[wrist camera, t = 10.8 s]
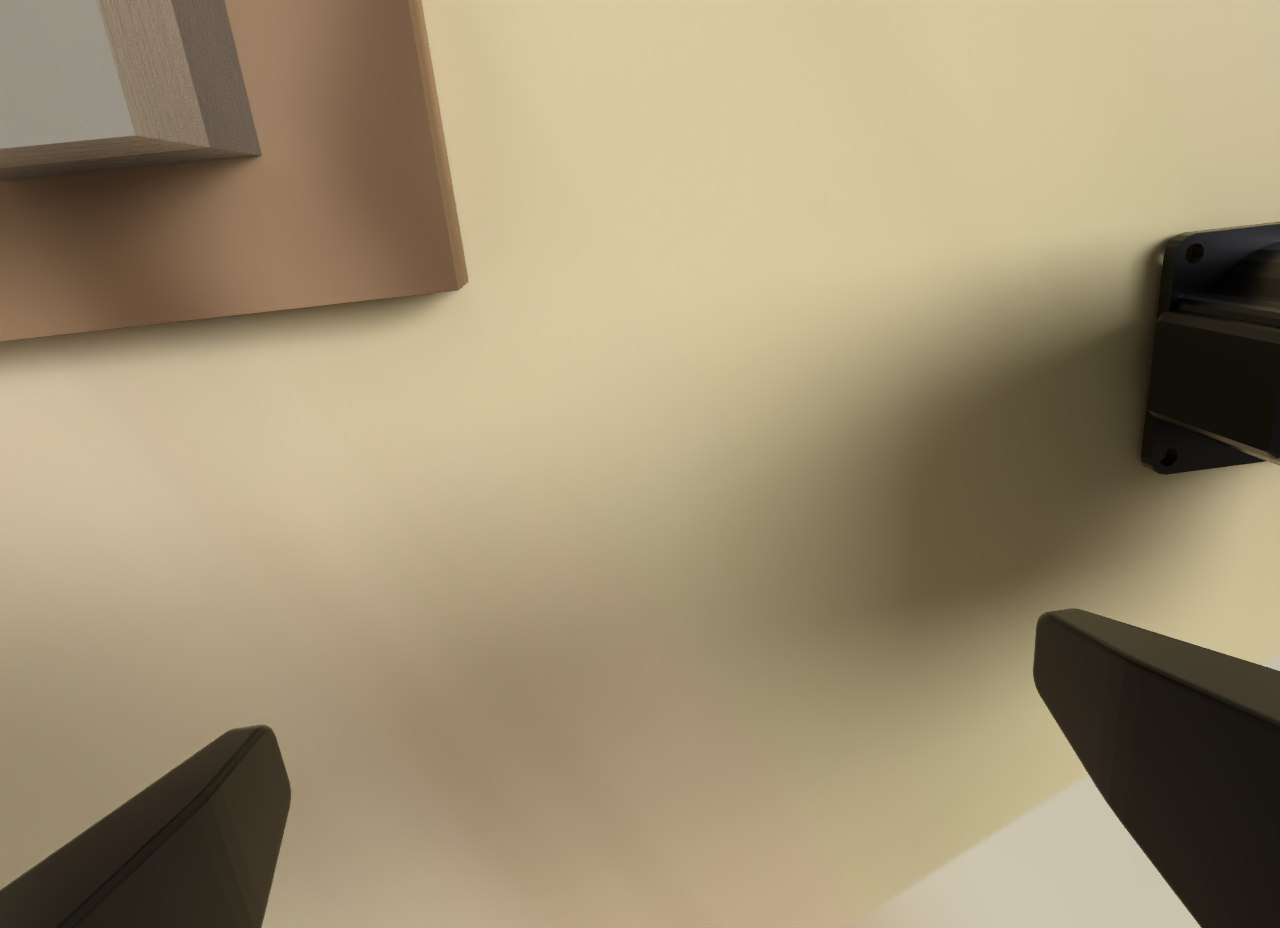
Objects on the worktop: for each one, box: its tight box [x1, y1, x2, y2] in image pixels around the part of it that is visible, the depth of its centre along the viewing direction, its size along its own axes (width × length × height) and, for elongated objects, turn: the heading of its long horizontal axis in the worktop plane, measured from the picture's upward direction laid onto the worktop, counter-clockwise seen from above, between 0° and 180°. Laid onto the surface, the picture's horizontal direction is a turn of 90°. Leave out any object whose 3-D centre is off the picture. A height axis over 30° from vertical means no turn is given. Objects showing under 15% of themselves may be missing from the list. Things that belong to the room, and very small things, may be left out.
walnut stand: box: [0, 0, 468, 341], centre depth 16 cm, size 12×12×2 cm
